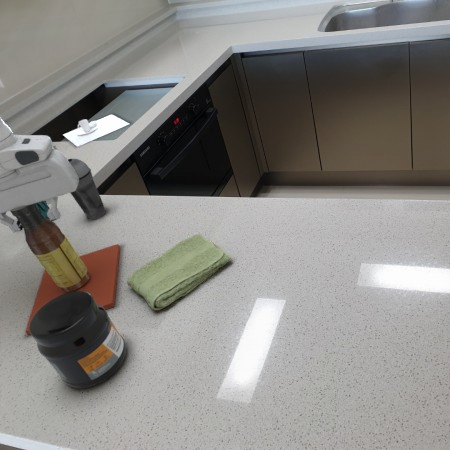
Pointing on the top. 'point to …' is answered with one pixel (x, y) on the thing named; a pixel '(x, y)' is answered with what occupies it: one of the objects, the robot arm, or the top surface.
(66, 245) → the sauce bottle
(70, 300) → the supplement container
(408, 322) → the top surface
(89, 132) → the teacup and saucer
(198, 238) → the washcloth
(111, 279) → the condiment mat
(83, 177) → the beverage cup
